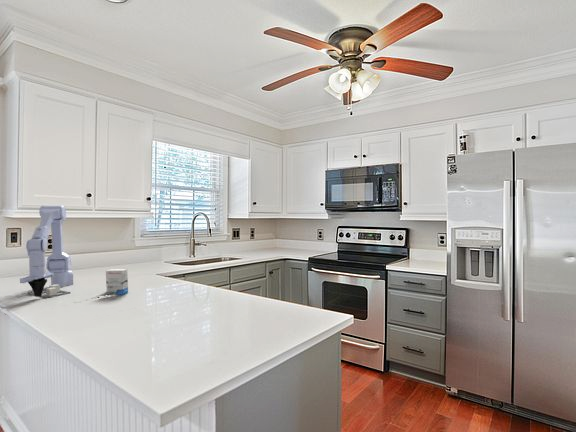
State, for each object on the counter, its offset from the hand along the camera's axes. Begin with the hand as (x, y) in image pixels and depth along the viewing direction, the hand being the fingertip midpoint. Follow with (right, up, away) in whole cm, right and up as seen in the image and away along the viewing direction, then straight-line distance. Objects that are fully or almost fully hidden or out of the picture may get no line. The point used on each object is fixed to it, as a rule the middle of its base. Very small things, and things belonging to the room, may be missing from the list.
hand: (38, 296), depth 154 cm
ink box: (+28, -2, +14) cm, 32 cm away
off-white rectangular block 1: (-8, -1, +11) cm, 13 cm away
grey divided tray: (-2, -2, +10) cm, 10 cm away
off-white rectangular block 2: (+3, -1, +5) cm, 6 cm away
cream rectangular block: (-1, -1, +12) cm, 12 cm away
